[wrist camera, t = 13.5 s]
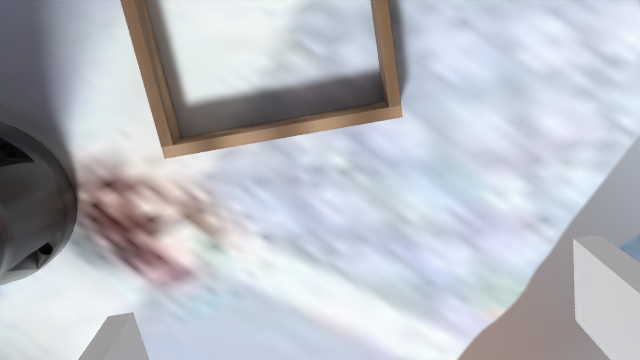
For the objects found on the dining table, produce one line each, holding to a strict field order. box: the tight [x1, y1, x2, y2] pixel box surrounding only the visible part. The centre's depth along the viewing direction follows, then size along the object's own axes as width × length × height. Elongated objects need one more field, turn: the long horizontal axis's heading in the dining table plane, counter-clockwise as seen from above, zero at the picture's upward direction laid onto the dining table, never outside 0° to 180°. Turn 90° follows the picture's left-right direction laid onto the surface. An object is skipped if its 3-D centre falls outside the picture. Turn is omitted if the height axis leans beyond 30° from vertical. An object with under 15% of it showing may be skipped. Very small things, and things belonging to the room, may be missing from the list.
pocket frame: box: [120, 0, 403, 158], centre depth 41 cm, size 21×21×3 cm
